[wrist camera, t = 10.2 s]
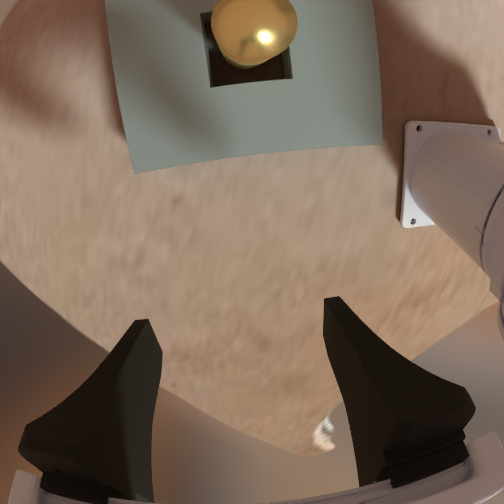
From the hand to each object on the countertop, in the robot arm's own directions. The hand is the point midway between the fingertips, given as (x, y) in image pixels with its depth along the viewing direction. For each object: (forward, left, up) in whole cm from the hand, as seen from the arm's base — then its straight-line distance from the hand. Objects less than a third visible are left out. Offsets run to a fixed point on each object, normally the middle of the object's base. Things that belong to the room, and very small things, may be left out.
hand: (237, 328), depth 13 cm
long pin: (-2, -11, -10) cm, 15 cm away
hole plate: (-2, -11, -10) cm, 15 cm away
